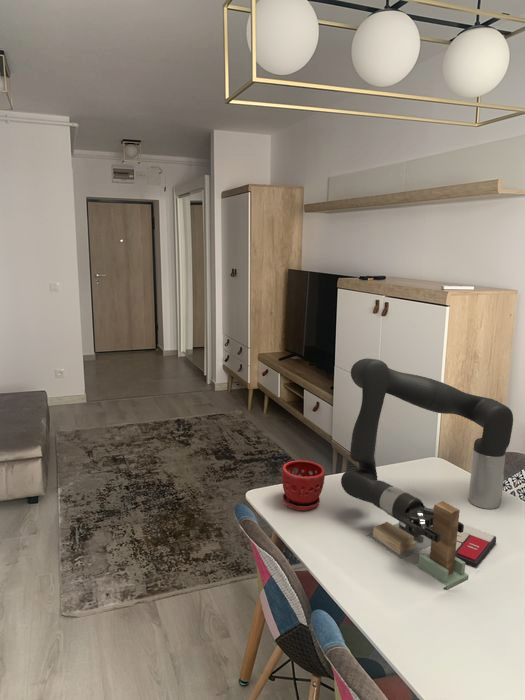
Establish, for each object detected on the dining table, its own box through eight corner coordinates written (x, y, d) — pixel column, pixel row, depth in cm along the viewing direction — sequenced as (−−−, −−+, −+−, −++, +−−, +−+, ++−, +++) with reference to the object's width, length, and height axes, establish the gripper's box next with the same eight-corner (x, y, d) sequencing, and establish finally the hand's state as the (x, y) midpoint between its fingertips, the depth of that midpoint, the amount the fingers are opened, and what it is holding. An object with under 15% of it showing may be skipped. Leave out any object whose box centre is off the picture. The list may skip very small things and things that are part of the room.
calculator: (434, 544, 142) (457, 519, 153) (433, 558, 143) (456, 533, 154) (476, 560, 135) (497, 534, 146) (475, 575, 136) (495, 548, 147)
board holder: (435, 559, 141) (436, 544, 140) (468, 579, 133) (469, 564, 132) (414, 568, 137) (415, 553, 136) (446, 590, 128) (448, 574, 128)
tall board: (437, 562, 137) (442, 501, 134) (453, 573, 133) (459, 509, 130) (429, 566, 136) (434, 504, 132) (445, 576, 132) (451, 513, 128)
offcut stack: (388, 530, 152) (389, 520, 151) (415, 547, 144) (416, 537, 143) (372, 536, 149) (372, 526, 148) (399, 554, 140) (399, 544, 140)
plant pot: (302, 518, 160) (303, 481, 158) (272, 502, 170) (273, 466, 167) (332, 504, 169) (333, 469, 166) (302, 489, 178) (303, 455, 176)
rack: (406, 523, 158) (407, 510, 157) (442, 544, 147) (444, 530, 147) (365, 539, 150) (366, 525, 149) (401, 562, 139) (402, 548, 138)
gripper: (382, 499, 139) (432, 527, 126) (420, 486, 147) (471, 512, 134) (380, 525, 141) (430, 556, 128) (418, 511, 148) (468, 539, 135)
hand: (451, 533), depth 131 cm, fingers open, 8 cm apart
